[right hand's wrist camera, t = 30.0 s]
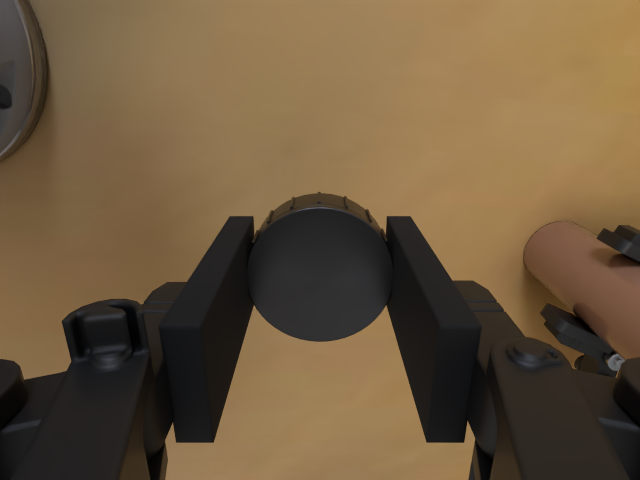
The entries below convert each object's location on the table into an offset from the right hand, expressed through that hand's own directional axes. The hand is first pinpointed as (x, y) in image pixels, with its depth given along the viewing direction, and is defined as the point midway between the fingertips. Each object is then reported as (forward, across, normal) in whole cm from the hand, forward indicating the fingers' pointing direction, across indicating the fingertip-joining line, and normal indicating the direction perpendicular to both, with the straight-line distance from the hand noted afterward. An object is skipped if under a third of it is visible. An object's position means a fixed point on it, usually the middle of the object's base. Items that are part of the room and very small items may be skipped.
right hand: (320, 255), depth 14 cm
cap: (-1, 0, 0) cm, 1 cm away
